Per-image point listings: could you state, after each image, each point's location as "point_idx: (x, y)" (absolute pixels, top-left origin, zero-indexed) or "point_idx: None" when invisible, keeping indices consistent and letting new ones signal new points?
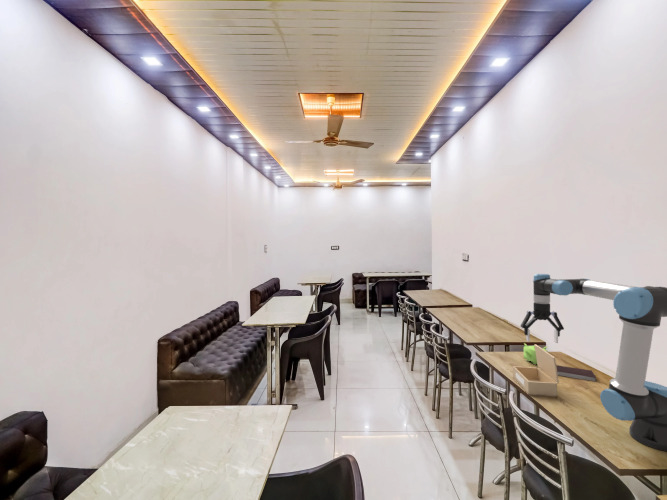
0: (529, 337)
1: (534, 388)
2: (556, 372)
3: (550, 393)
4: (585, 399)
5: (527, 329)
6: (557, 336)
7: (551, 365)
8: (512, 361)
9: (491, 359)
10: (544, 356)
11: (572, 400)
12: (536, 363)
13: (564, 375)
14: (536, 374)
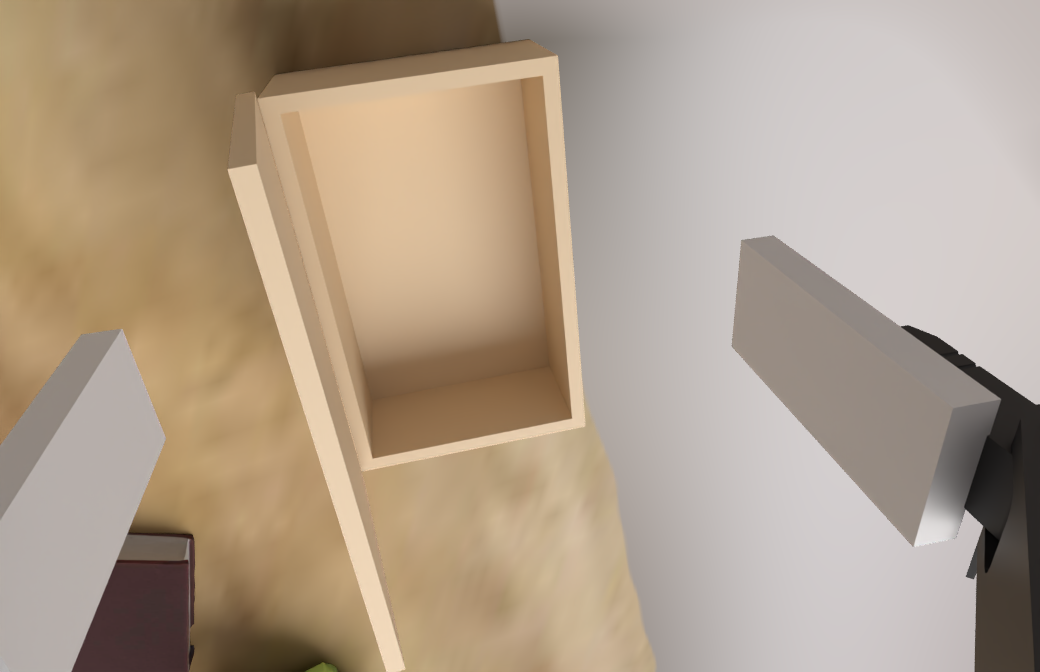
0: (799, 284)
1: (484, 55)
2: (245, 116)
3: (332, 69)
4: (12, 88)
5: (992, 433)
6: (15, 442)
7: (284, 227)
8: (478, 657)
9: (617, 638)
10: (335, 415)
11: (142, 23)
12: (318, 665)
13: (134, 541)
14: (379, 419)
